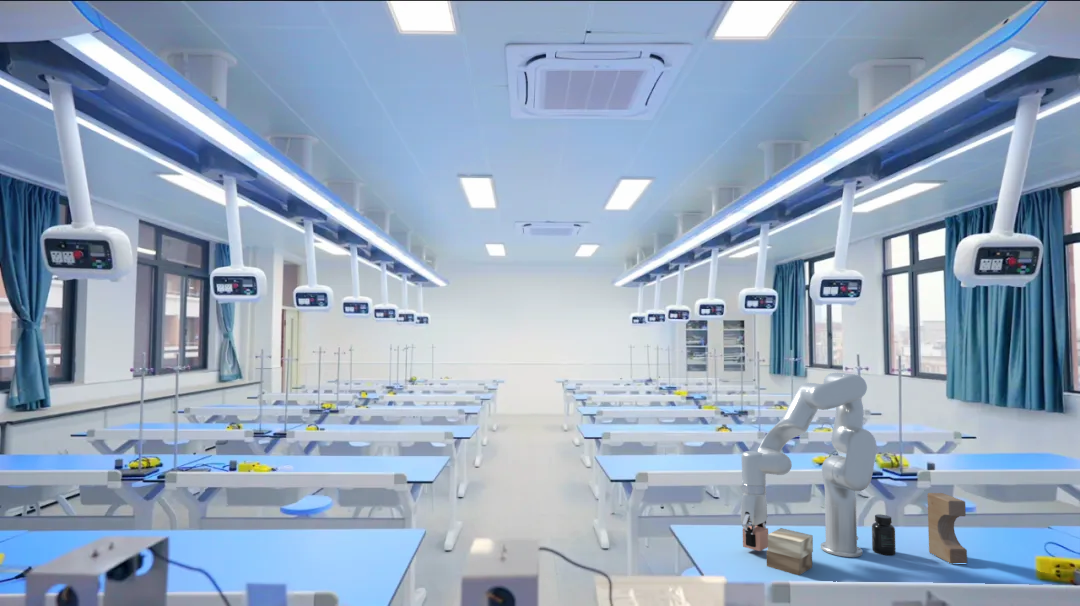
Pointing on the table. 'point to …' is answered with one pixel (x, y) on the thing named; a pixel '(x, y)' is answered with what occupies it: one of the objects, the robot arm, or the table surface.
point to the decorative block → (945, 527)
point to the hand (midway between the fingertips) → (755, 543)
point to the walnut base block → (789, 563)
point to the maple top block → (790, 543)
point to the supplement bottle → (883, 536)
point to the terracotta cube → (758, 538)
